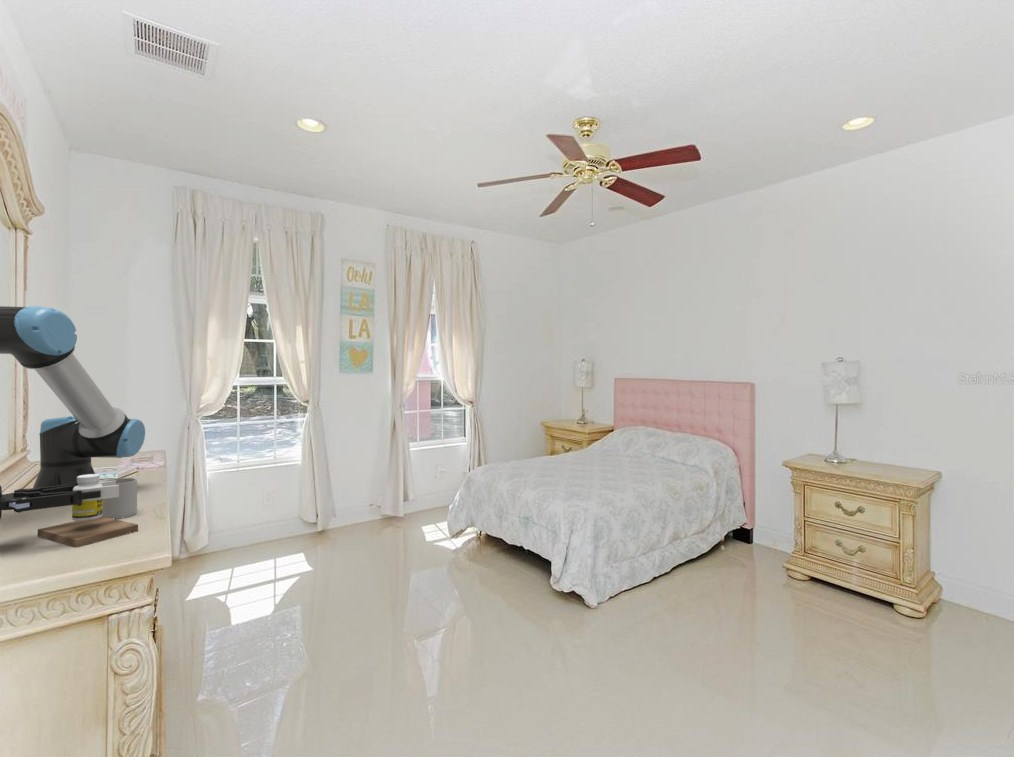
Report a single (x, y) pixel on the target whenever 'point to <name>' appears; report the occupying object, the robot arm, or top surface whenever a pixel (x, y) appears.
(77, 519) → the supplement bottle
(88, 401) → the robot arm
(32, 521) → the top surface
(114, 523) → the walnut board
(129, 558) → the top surface
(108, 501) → the cup
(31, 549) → the top surface
